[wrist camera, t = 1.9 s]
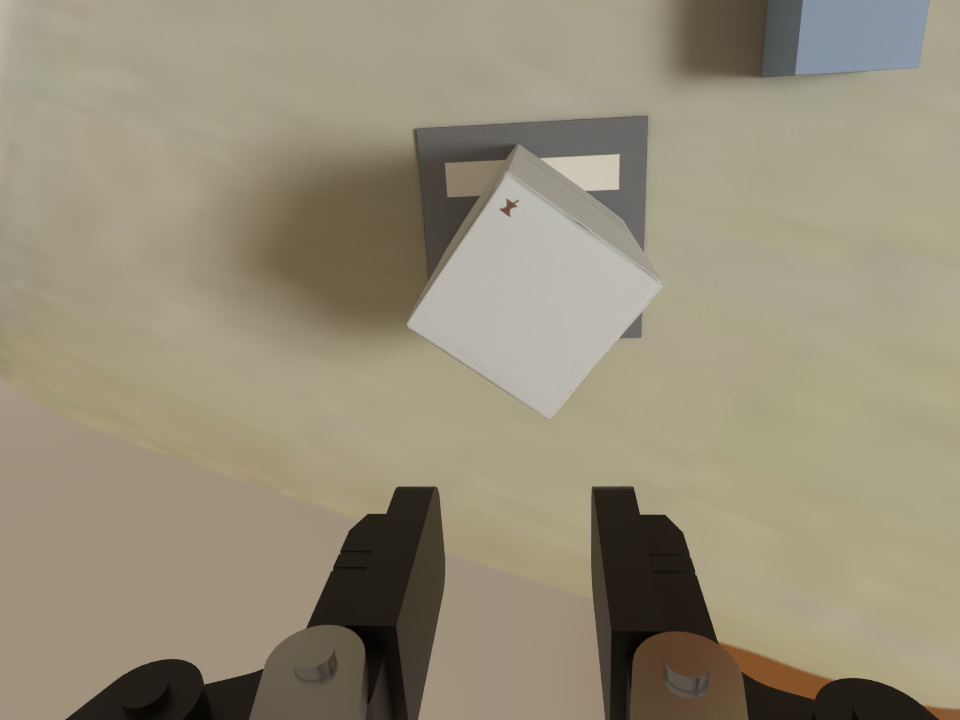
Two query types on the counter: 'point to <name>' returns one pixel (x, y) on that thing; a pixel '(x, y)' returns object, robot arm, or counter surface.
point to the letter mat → (561, 144)
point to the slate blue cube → (842, 36)
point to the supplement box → (535, 284)
